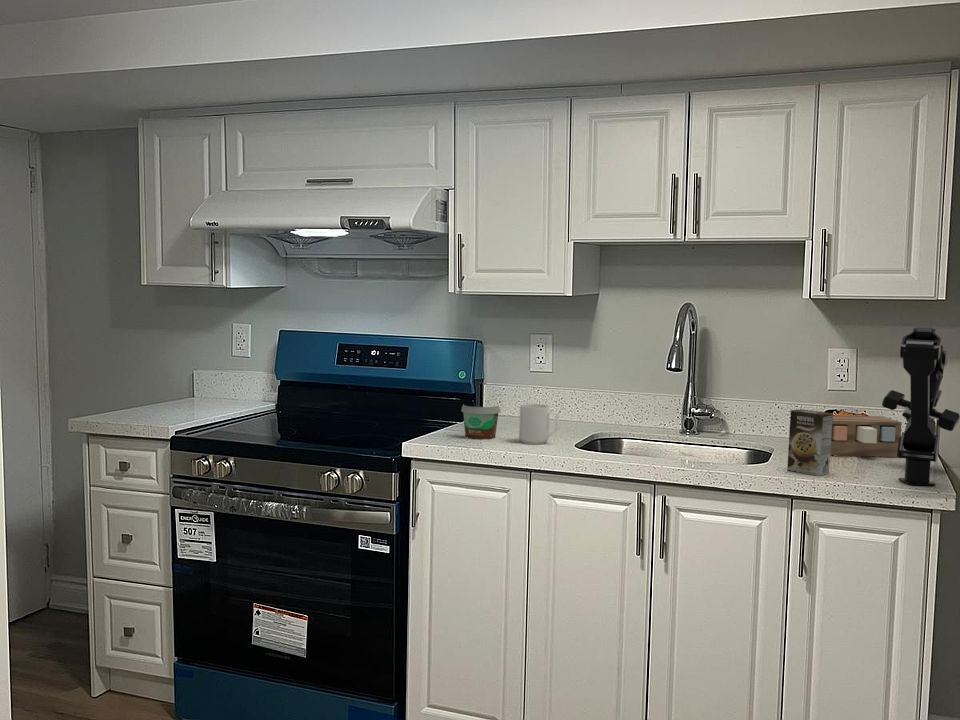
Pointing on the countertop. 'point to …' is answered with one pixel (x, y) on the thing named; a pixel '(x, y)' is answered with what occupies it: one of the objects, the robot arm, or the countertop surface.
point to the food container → (480, 421)
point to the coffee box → (810, 442)
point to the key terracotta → (839, 432)
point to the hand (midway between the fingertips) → (913, 435)
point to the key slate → (887, 433)
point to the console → (860, 448)
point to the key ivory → (866, 434)
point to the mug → (535, 423)
